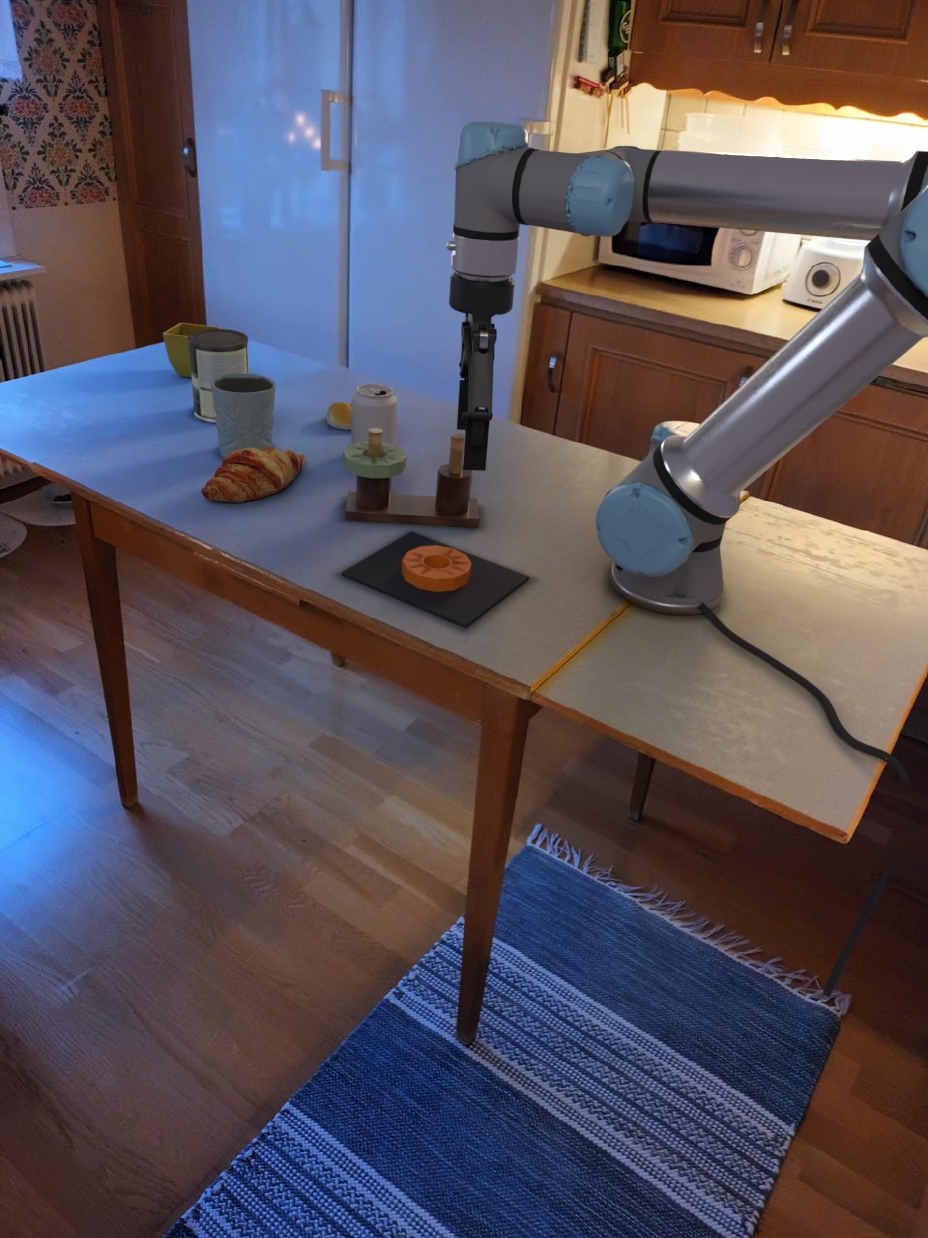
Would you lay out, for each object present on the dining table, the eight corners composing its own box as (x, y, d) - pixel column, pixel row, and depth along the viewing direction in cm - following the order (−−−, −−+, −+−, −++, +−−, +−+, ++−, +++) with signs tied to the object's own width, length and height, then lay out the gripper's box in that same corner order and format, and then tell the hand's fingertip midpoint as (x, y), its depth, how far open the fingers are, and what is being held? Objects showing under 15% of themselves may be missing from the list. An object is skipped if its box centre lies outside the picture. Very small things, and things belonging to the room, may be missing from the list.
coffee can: (181, 412, 168) (174, 335, 161) (225, 399, 175) (220, 325, 168) (220, 428, 163) (215, 348, 156) (263, 414, 171) (260, 338, 163)
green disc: (417, 468, 137) (418, 455, 136) (372, 483, 131) (372, 470, 130) (376, 449, 142) (376, 436, 141) (331, 462, 136) (331, 450, 135)
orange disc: (482, 577, 125) (484, 564, 124) (436, 598, 120) (437, 585, 118) (436, 551, 130) (436, 539, 129) (389, 571, 124) (389, 558, 123)
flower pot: (165, 378, 183) (161, 332, 178) (184, 365, 190) (180, 321, 185) (207, 384, 182) (204, 338, 177) (224, 371, 189) (222, 327, 184)
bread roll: (380, 430, 169) (381, 409, 167) (332, 432, 166) (332, 411, 164) (368, 413, 175) (369, 393, 173) (322, 416, 172) (322, 395, 170)
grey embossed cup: (203, 455, 153) (198, 384, 146) (236, 436, 161) (233, 368, 155) (257, 468, 150) (254, 397, 144) (288, 448, 158) (286, 379, 152)
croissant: (291, 482, 155) (274, 436, 153) (332, 471, 148) (315, 423, 146) (194, 522, 139) (174, 471, 137) (236, 511, 133) (215, 458, 131)
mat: (528, 579, 127) (529, 576, 126) (465, 628, 115) (466, 625, 115) (411, 534, 135) (411, 531, 135) (341, 575, 124) (341, 572, 123)
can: (388, 468, 155) (390, 398, 148) (345, 461, 156) (346, 392, 149) (399, 451, 161) (402, 384, 155) (358, 445, 162) (359, 378, 155)
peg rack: (476, 507, 145) (484, 428, 138) (478, 527, 139) (486, 446, 132) (348, 499, 143) (349, 419, 136) (344, 520, 137) (346, 437, 130)
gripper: (445, 251, 116) (437, 413, 128) (456, 297, 95) (445, 487, 107) (504, 254, 117) (491, 415, 128) (528, 301, 96) (509, 489, 107)
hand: (470, 448), depth 117 cm, fingers open, 13 cm apart
